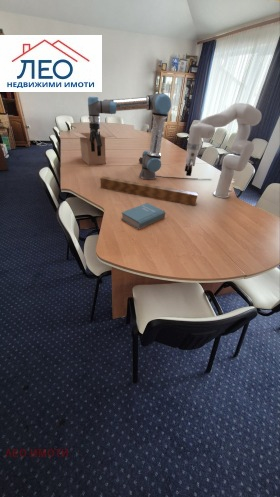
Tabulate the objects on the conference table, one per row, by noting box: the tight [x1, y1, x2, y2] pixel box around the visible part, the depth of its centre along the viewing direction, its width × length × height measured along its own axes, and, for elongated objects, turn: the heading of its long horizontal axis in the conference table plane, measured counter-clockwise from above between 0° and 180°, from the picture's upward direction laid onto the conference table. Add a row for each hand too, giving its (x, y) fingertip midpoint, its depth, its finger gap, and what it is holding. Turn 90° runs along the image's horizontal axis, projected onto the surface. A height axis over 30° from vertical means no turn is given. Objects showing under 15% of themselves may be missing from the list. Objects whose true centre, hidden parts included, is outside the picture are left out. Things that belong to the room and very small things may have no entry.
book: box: [121, 202, 166, 230], centre depth 139 cm, size 23×16×5 cm
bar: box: [99, 175, 199, 206], centre depth 170 cm, size 76×5×8 cm, turn 72°
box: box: [70, 130, 114, 166], centre depth 229 cm, size 44×36×27 cm
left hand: (96, 153), depth 172 cm, fingers open, 13 cm apart
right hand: (187, 173), depth 151 cm, fingers open, 9 cm apart
